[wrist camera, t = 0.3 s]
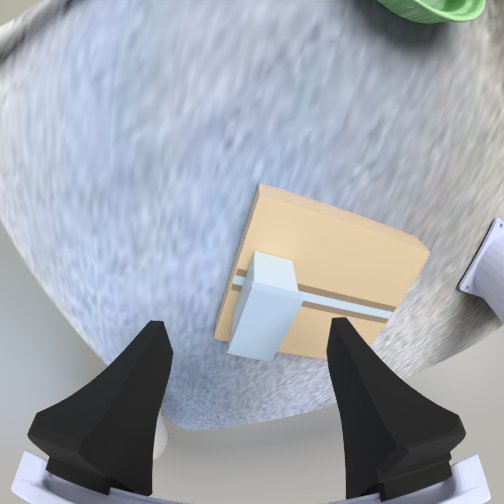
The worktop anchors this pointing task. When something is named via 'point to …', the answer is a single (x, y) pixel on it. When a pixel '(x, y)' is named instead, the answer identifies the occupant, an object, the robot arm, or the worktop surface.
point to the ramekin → (435, 10)
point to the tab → (264, 307)
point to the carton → (325, 267)
